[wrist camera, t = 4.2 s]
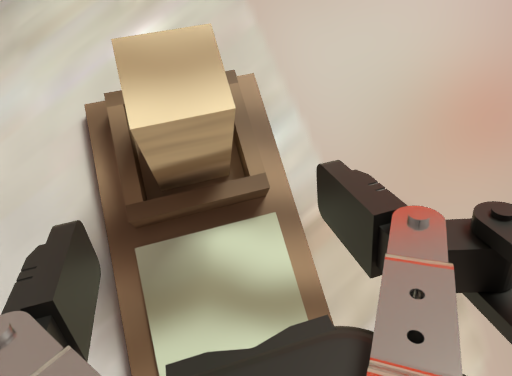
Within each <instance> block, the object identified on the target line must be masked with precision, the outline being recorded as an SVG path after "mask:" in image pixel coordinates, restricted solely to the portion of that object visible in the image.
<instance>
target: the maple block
mask: <svg viewBox="0 0 512 376" xmlns="http://www.w3.org/2000/svg"><path fill="white" fill-rule="evenodd" d="M111 40H112V45H113V50H114V55H115V59H116V64H117V69H118V74H119V79H120V84H121V88H122V93H123V98H124V103H125V108H126V113H127V117H128V122H129V127H130V130H131V132H132V134H133V136H134V138H135V140H136V142H137V144H138V146H139V148H140V150H141V152H142V154H143V156H144V158H145V160H146V162H147V164H148V165H149V167H150V169H151V171H152V173H153V175H154V177H155V179H156V181H157V183H158V185H159V187H160V189H161V191H164V190H168V189H172V188H177V187H181V186H185V185H190V184H194V183H198V182H202V181H207V180H211V179H215V178H220V177H224V176H228V175H229V171H230V161H231V151H232V141H233V131H234V121H235V111H236V107H235V104H234V101H233V97H232V94H231V90H230V87H229V84H228V80H227V77H226V73H225V70H224V67H223V63H222V60H221V56H220V53H219V50H218V46H217V43H216V39H215V36H214V33H213V29H212V26H211V24H205V25H198V26H192V27H185V28H179V29H173V30H166V31H160V32H154V33H147V34H141V35H135V36H128V37H122V38H116V39H111Z"/></svg>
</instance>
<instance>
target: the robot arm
mask: <svg viewBox="0 0 512 376" xmlns="http://www.w3.org/2000/svg"><path fill="white" fill-rule="evenodd" d="M317 195H318V207H319V211H320V214H321V216H322V218H323V219H324V221H325V222H326V223H327V224H328V226H329V227H330V228H331V229H332V231H333V232H334V233H335V234H336V236H337V237H338V238H339V239H340V241H341V242H342V243H343V244H344V246H345V247H346V248H347V250H348V251H349V252H350V253H351V255H352V256H353V257H354V258H355V260H356V261H357V262H358V263H359V265H360V266H361V267H362V268H363V270H364V271H365V272H366V273H367V275H368V276H369V277H370V278H374V277H377V276H380V275H382V281H381V287H380V294H379V301H378V308H377V315H376V321H375V328H374V332H372V331H369V330H365V329H361V328H356V327H349V326H334V325H333V323H332V322H331V320H330V318H329V316H328V315H324V316H321V317H318V318H315V319H311V320H308V321H305V322H302V323H299V324H295V325H292V326H289V327H288V328H286V329H284V330H283V331H281V332H279V333H278V334H276V335H274V336H273V337H271V338H269V339H267V340H266V341H264V342H262V343H261V344H259V345H257V346H255V347H253V348H249V349H237V350H225V351H212V352H206V353H202V354H199V355H196V356H193V357H190V358H186V359H183V360H180V361H177V362H174V363H170V364H167V365H165V367H166V376H466V375H464V374H462V364H461V351H460V339H459V326H458V313H457V301H456V293H463V294H464V295H465V296H466V297H467V298H468V299H469V301H470V302H471V303H472V304H473V305H474V306H475V307H476V308H477V309H478V310H479V311H480V312H481V313H482V314H483V315H484V316H485V317H486V318H487V319H488V320H489V321H490V322H491V323H492V324H493V325H494V326H495V327H496V328H497V330H498V331H499V332H500V333H501V334H502V335H503V336H504V337H505V338H506V339H507V340H508V341H509V342H510V343H511V344H512V204H509V203H505V202H494V201H492V202H484V203H481V204H478V205H477V206H476V207H475V208H474V211H473V216H472V219H454V220H453V219H452V220H445V218H444V217H443V216H442V215H441V214H440V213H439V212H437V211H435V210H433V209H431V208H428V207H423V206H407V205H406V204H405V203H404V202H402V201H401V200H400V199H399V198H397V197H396V196H395V195H394V194H392V193H391V192H390V191H389V190H387V189H385V187H384V186H382V185H381V184H380V183H378V182H377V181H376V180H375V179H374V178H372V177H371V176H370V175H369V174H366V173H363V172H361V171H358V170H351V169H349V168H348V167H347V166H346V165H344V163H343V162H341V161H340V160H336V161H331V162H327V163H323V164H319V165H318V166H317ZM100 277H101V271H100V265H99V261H98V258H97V256H96V253H95V251H94V249H93V246H92V244H91V242H90V239H89V237H88V235H87V232H86V230H85V228H84V226H83V224H82V222H81V221H79V220H77V221H73V222H69V223H64V224H60V225H56V226H53V227H52V229H51V232H50V234H49V237H48V239H47V242H46V244H43V245H39V246H38V247H37V248H36V249H35V250H34V251H33V252H32V253H31V254H30V255H29V256H28V257H27V258H26V260H25V262H24V265H23V267H22V269H21V272H20V274H19V276H18V278H17V283H15V285H14V287H13V289H12V291H11V294H10V296H9V298H8V300H7V303H6V305H5V307H4V309H3V311H2V314H1V315H0V376H101V375H100V374H99V373H98V372H97V371H95V370H94V369H93V368H92V367H91V366H90V365H89V364H88V363H87V360H88V354H89V347H90V341H91V335H92V328H93V322H94V315H95V309H96V303H97V296H98V290H99V284H100Z"/></svg>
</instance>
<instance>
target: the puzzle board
mask: <svg viewBox="0 0 512 376" xmlns="http://www.w3.org/2000/svg"><path fill="white" fill-rule="evenodd" d="M225 73H226V77H227V80H228V84H229V87H230V90H231V94H232V97H233V101H234V104H235V107H236V111H235V121H234V131H233V141H232V151H231V161H230V171H229V175H228V176H224V177H220V178H215V179H211V180H207V181H202V182H198V183H194V184H190V185H185V186H181V187H177V188H172V189H168V190H164V191H161V189H160V187H159V185H158V183H157V181H156V179H155V177H154V175H153V173H152V171H151V169H150V167H149V165H148V164H147V162H146V160H145V158H144V156H143V154H142V152H141V150H140V148H139V146H138V144H137V142H136V140H135V138H134V136H133V134H132V132H131V130H130V127H129V122H128V117H127V113H126V108H125V103H124V98H123V93H122V90H120V91H115V92H109V93H104V96H105V101H101V102H96V103H90V104H85V111H86V117H87V123H88V128H89V134H90V140H91V146H92V151H93V157H94V163H95V168H96V174H97V180H98V186H99V191H100V197H101V203H102V209H103V214H104V220H105V226H106V232H107V237H108V243H109V249H110V254H111V260H112V266H113V272H114V277H115V283H116V289H117V295H118V300H119V306H120V312H121V318H122V323H123V329H124V335H125V340H126V346H127V352H128V358H129V363H130V369H131V375H132V376H166V367H165V365H167V364H170V363H174V362H177V361H180V360H183V359H186V358H190V357H193V356H196V355H199V354H202V353H206V352H212V351H225V350H237V349H249V348H253V347H255V346H257V345H259V344H261V343H262V342H264V341H266V340H267V339H269V338H271V337H273V336H274V335H276V334H278V333H279V332H281V331H283V330H284V329H286V328H288V327H289V326H292V325H295V324H299V323H302V322H305V321H308V320H311V319H315V318H318V317H321V316H324V315H328V316H329V318H330V320H331V322H332V323H333V321H332V318H331V315H330V312H329V309H328V306H327V303H326V299H325V296H324V293H323V290H322V287H321V284H320V280H319V277H318V274H317V271H316V268H315V265H314V262H313V258H312V255H311V252H310V249H309V246H308V243H307V240H306V236H305V233H304V230H303V227H302V224H301V221H300V218H299V214H298V211H297V208H296V205H295V202H294V199H293V195H292V192H291V189H290V186H289V183H288V180H287V177H286V173H285V170H284V167H283V164H282V161H281V158H280V155H279V151H278V148H277V145H276V142H275V139H274V136H273V133H272V129H271V126H270V123H269V120H268V117H267V114H266V110H265V107H264V104H263V101H262V98H261V95H260V92H259V88H258V85H257V82H256V79H255V76H254V73H252V74H247V75H241V76H236V73H235V70H230V71H225Z"/></svg>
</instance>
